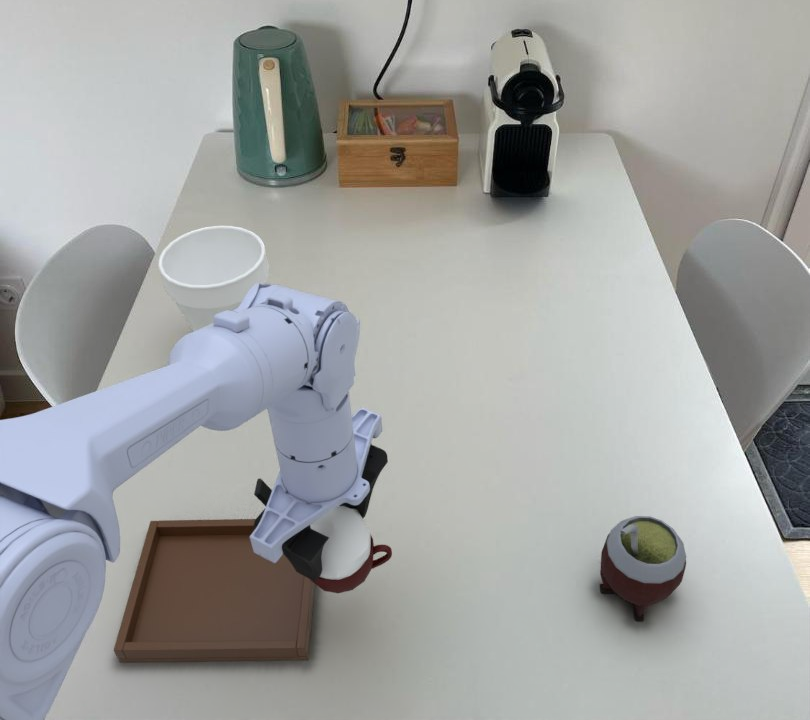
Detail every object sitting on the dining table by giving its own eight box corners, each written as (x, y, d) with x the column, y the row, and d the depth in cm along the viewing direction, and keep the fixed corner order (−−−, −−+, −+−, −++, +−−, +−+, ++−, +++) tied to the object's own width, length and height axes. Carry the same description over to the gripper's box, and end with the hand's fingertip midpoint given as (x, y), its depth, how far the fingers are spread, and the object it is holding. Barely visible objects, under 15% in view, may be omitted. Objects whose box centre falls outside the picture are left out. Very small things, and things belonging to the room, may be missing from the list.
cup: (205, 308, 107) (183, 220, 98) (294, 317, 105) (279, 229, 96) (167, 371, 99) (138, 281, 89) (263, 383, 96) (244, 292, 87)
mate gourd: (666, 559, 77) (699, 455, 67) (681, 636, 71) (721, 536, 61) (586, 556, 77) (607, 453, 67) (595, 633, 72) (620, 533, 61)
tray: (119, 662, 71) (113, 650, 70) (155, 532, 81) (150, 520, 80) (308, 660, 71) (305, 648, 69) (320, 530, 81) (318, 517, 79)
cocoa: (400, 559, 70) (394, 471, 62) (368, 620, 66) (357, 534, 58) (305, 524, 73) (287, 436, 65) (269, 580, 69) (245, 494, 61)
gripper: (298, 528, 52) (320, 635, 61) (412, 388, 61) (416, 500, 70) (214, 485, 55) (247, 594, 64) (335, 358, 64) (348, 469, 73)
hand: (331, 543), depth 67 cm, fingers closed on cocoa, 6 cm apart
